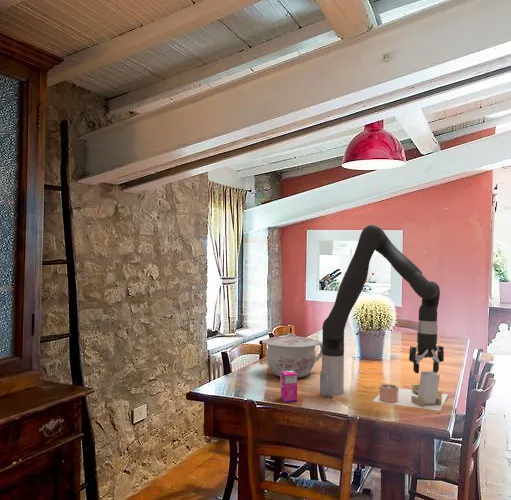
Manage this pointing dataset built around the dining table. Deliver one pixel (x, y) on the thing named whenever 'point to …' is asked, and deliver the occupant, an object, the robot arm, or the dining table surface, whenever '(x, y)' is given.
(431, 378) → the skincare box
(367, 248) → the robot arm
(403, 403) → the white square board
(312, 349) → the chamber pot
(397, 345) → the dining table surface
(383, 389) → the cup
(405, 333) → the dining table surface
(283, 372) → the supplement box
